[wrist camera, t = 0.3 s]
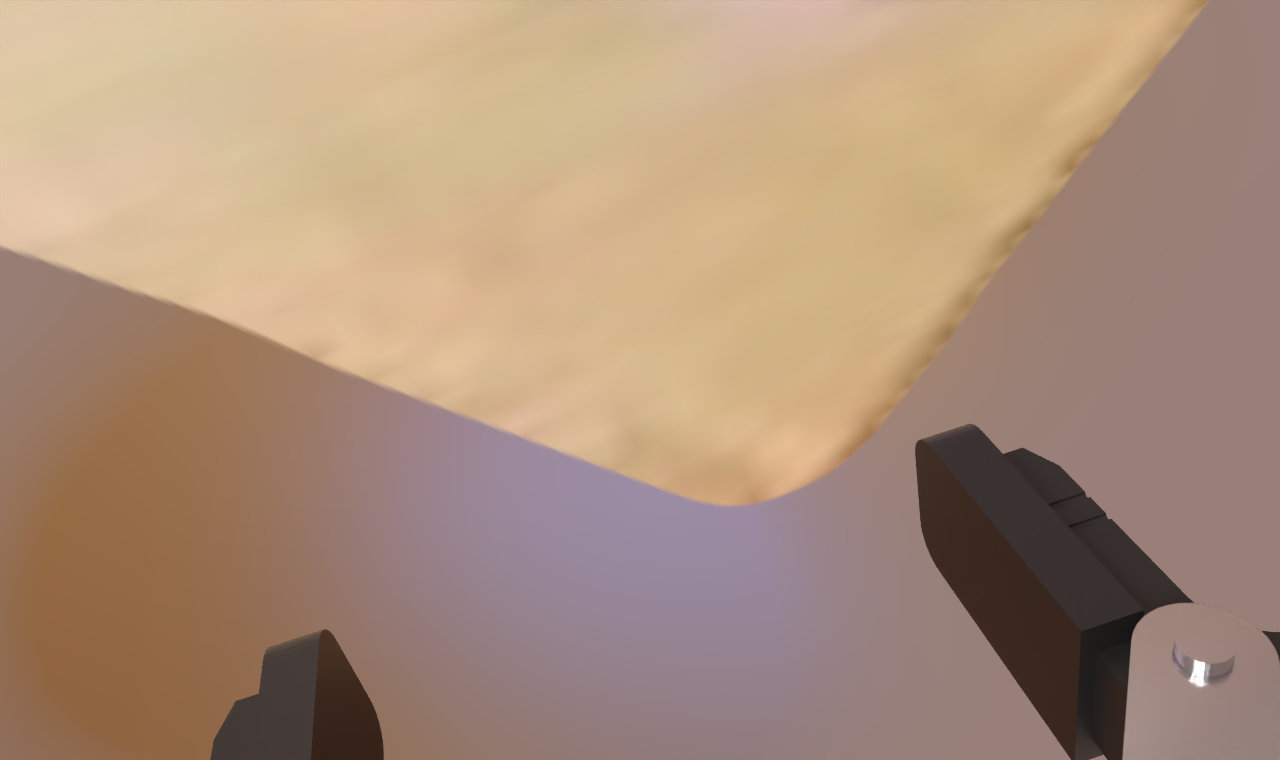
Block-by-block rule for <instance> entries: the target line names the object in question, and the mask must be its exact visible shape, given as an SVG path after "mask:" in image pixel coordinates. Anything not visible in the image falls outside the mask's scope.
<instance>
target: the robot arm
mask: <svg viewBox="0 0 1280 760" xmlns="http://www.w3.org/2000/svg"><path fill="white" fill-rule="evenodd" d="M915 456H916V468H917V482H918V494H919V508H920V521H921V528H922V532H923V536H924V540H925V543H926V546H927V548H928V550H929V553H930V555H931V557H932V559H933V561H934V563H935V565H936V567H937V568H938V569H939V571H940V573H941V574H942V575H943V577H944V578H945V580H946V581H947V583H948V584H949V585H950V587H951V588H952V590H953V591H954V593H955V594H956V596H957V597H958V598H959V600H960V601H961V603H962V604H963V606H964V607H965V608H966V610H967V611H968V613H969V614H970V616H971V617H972V618H973V620H974V621H975V622H976V624H977V625H978V627H979V628H980V630H981V631H982V633H983V634H984V635H985V637H986V638H987V640H988V641H989V643H990V644H991V646H992V647H993V648H994V650H995V651H996V653H997V654H998V656H999V657H1000V658H1001V660H1002V661H1003V663H1004V664H1005V666H1006V667H1007V668H1008V670H1009V671H1010V672H1011V674H1012V676H1013V677H1014V679H1015V680H1016V681H1017V683H1018V684H1019V686H1020V687H1021V688H1022V690H1023V691H1024V693H1025V694H1026V696H1027V697H1028V699H1029V700H1030V701H1031V703H1032V704H1033V706H1034V707H1035V709H1036V710H1037V711H1038V713H1039V714H1040V716H1041V717H1042V719H1043V720H1044V721H1045V723H1046V724H1047V725H1048V727H1049V728H1050V730H1051V731H1052V733H1053V734H1054V736H1055V737H1056V738H1057V740H1058V741H1059V743H1060V744H1061V746H1062V747H1063V749H1064V750H1065V751H1066V753H1067V754H1068V756H1069V757H1070V758H1071V760H1089V759H1092V758H1095V757H1097V756H1101V755H1103V754H1104V756H1105V757H1106V758H1107V760H1280V632H1267V631H1261V630H1260V629H1259V628H1257V627H1256V626H1255V625H1254V624H1252V623H1251V622H1250V621H1248V620H1246V619H1245V618H1243V617H1241V616H1239V615H1237V614H1235V613H1233V612H1231V611H1228V610H1225V609H1222V608H1219V607H1216V606H1211V605H1206V604H1199V603H1194V602H1193V601H1192V600H1190V599H1189V598H1188V597H1187V596H1186V595H1185V594H1184V593H1183V592H1182V591H1181V590H1180V589H1179V588H1178V587H1177V586H1176V585H1175V584H1174V583H1173V582H1172V581H1171V580H1170V579H1169V577H1167V575H1166V574H1165V573H1164V572H1163V571H1162V570H1161V569H1160V568H1159V567H1158V566H1157V565H1156V564H1155V563H1154V562H1153V561H1152V560H1151V559H1150V558H1149V557H1148V556H1147V555H1146V554H1145V553H1144V552H1143V551H1142V550H1141V549H1140V548H1139V547H1138V546H1137V545H1136V544H1135V543H1134V542H1133V541H1132V540H1131V539H1130V538H1129V537H1128V535H1126V533H1125V532H1124V531H1123V530H1121V528H1120V527H1119V526H1118V525H1117V524H1116V523H1115V522H1114V521H1113V520H1112V519H1108V518H1107V516H1106V513H1105V512H1104V511H1103V510H1102V509H1101V508H1100V507H1099V506H1098V505H1097V504H1096V503H1095V502H1094V501H1093V500H1092V499H1091V498H1090V497H1089V498H1087V497H1086V494H1085V491H1084V490H1082V488H1081V487H1080V486H1079V485H1078V484H1077V483H1076V482H1075V481H1074V480H1073V479H1072V478H1071V477H1070V476H1069V475H1068V474H1067V473H1066V472H1065V471H1064V470H1063V469H1062V468H1061V467H1060V466H1059V465H1057V464H1055V463H1053V462H1051V461H1049V460H1046V459H1045V458H1043V457H1041V456H1038V455H1036V454H1034V453H1032V452H1030V451H1028V450H1026V449H1024V448H1020V449H1017V450H1014V451H1011V452H1008V453H1005V454H1002V453H1001V452H1000V450H999V449H998V448H997V447H996V446H995V445H994V444H993V443H992V442H991V441H990V439H988V437H987V436H986V435H985V434H984V433H983V432H982V431H981V430H980V429H979V428H978V427H977V426H975V425H973V424H967V425H965V426H961V427H959V428H955V429H953V430H949V431H946V432H943V433H940V434H936V435H933V436H930V437H927V438H924V439H921V440H919V441H918V442H917V443H916V448H915ZM211 760H384V752H383V740H382V733H381V729H380V725H379V721H378V717H377V714H376V711H375V709H374V707H373V704H372V702H371V700H370V698H369V697H368V695H367V693H366V691H365V690H364V688H363V686H362V684H361V683H360V681H359V679H358V677H357V676H356V674H355V672H354V670H353V669H352V667H351V665H350V664H349V662H348V660H347V658H346V656H345V655H344V653H343V651H342V650H341V648H340V646H339V644H338V642H337V641H336V639H335V637H334V636H333V635H332V633H331V632H330V631H328V630H326V629H325V630H321V631H318V632H315V633H312V634H309V635H305V636H302V637H300V638H296V639H293V640H290V641H287V642H284V643H281V644H278V645H274V646H271V647H269V648H268V649H267V650H266V652H265V655H264V659H263V666H262V674H261V682H260V690H259V694H256V695H254V696H251V697H247V698H244V699H241V700H238V701H236V702H235V703H234V705H233V707H232V709H231V711H230V713H229V714H228V716H227V718H226V719H225V721H224V723H223V725H222V727H221V728H220V730H219V732H218V734H217V735H216V737H215V739H214V742H213V748H212V754H211Z"/></svg>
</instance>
